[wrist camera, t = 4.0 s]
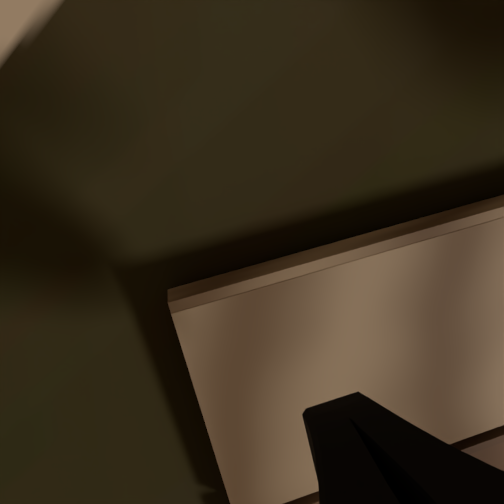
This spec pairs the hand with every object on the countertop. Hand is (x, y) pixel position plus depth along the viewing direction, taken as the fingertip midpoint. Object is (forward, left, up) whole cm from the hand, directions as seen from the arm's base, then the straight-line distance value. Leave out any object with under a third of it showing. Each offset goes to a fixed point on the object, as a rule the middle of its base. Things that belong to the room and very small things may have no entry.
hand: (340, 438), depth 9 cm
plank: (-6, +1, -6) cm, 8 cm away
